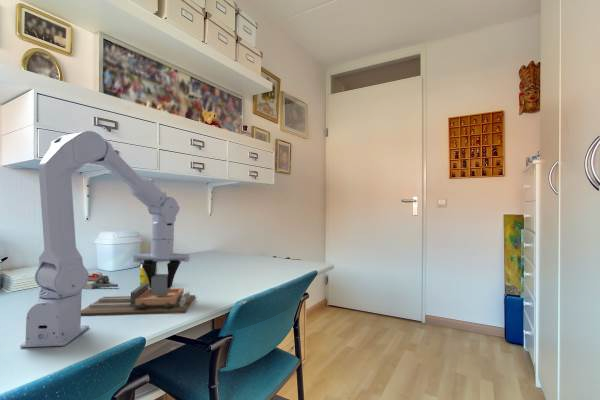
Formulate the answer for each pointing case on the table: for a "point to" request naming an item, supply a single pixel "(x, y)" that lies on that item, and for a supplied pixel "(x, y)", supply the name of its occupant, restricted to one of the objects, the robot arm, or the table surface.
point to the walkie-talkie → (98, 281)
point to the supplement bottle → (144, 276)
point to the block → (159, 285)
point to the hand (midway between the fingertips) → (161, 287)
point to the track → (134, 306)
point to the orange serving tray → (154, 297)
